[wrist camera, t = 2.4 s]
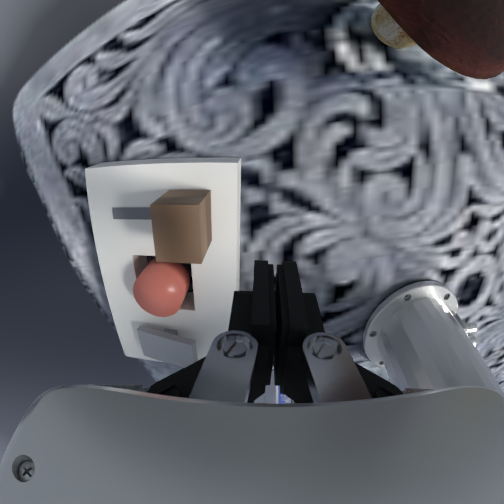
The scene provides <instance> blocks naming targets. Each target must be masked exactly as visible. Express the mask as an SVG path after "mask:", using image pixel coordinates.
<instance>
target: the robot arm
mask: <svg viewBox="0 0 504 504" xmlns="http://www.w3.org/2000/svg"><path fill="white" fill-rule="evenodd" d="M476 330H477V325H476V323H475V322H471V323H466V324H464V323H463V322H462V320H461V319H460V317H459V316H458V302H457V299H456V297H455V295H454V294H453V292H452V291H451V290H450V289H449V288H448V287H447V286H445V285H444V284H442V283H440V282H436V281H421V282H416V283H413V284H410V285H407V286H405V287H403V288H401V289H399V290H398V291H396V292H394V293H393V294H392V295H390V296H389V297H388V298H386V299H385V300H384V301H383V302H382V303H381V304H380V305H379V306H378V307H377V308H376V310H375V311H374V312H373V313H372V315H371V317H370V318H369V320H368V322H367V324H366V326H365V329H364V333H363V347H364V350H365V353H366V355H367V357H368V358H369V360H370V361H371V362H372V363H373V364H375V365H377V366H379V367H383V368H386V370H387V373H388V376H389V378H390V381H391V383H390V382H388V381H386V380H385V379H383V378H381V377H379V376H378V375H376V374H374V373H372V372H370V371H369V370H367V369H365V368H363V367H362V366H360V365H358V364H356V363H355V362H354V360H353V358H352V357H351V355H350V353H349V351H348V349H347V347H346V345H345V343H344V342H343V341H342V339H340V338H339V337H338V336H335V335H333V334H330V333H325V331H324V327H323V323H322V319H321V315H320V311H319V307H318V303H317V299H316V295H315V294H314V293H302V288H301V283H300V278H299V273H298V269H297V264H296V262H288V261H283V262H282V265H277V271H276V284H275V286H274V270H273V264H268V261H261V260H255V264H254V283H253V291H234V295H233V301H232V308H231V315H230V321H229V328H228V331H226V332H223V333H221V334H219V335H218V336H217V337H215V339H214V340H213V342H212V344H211V346H210V349H209V351H208V353H207V356H205V357H204V358H202V359H200V360H198V361H196V362H194V363H193V364H191V365H189V366H187V367H185V368H183V369H181V370H179V371H177V372H176V373H174V374H172V375H170V376H168V377H166V378H164V379H162V380H160V381H158V382H156V383H155V384H153V385H152V386H151V387H150V388H143V385H67V386H61V387H56V388H52V389H50V390H47V391H45V392H44V393H43V394H42V395H40V396H39V397H38V398H37V399H36V400H35V401H34V403H33V404H32V405H31V407H30V408H29V409H28V411H27V412H26V414H25V415H24V417H23V419H22V420H21V422H20V424H19V426H18V427H17V429H16V431H15V433H14V435H13V437H12V439H11V441H10V443H9V445H8V447H7V449H6V452H5V454H4V456H3V459H2V461H1V464H0V504H504V393H503V391H502V389H501V387H500V386H499V384H498V382H497V380H496V379H495V377H494V375H493V374H492V372H491V370H490V369H489V367H488V366H487V364H486V362H485V361H484V359H483V358H482V356H481V355H480V353H479V352H478V350H477V349H476V347H475V346H476V338H475V336H473V335H470V336H468V335H467V334H471V333H475V332H476ZM273 356H274V385H275V386H280V394H285V395H286V396H288V397H289V398H290V399H291V404H272V403H254V402H255V400H256V399H257V398H259V397H260V396H261V395H263V394H264V393H265V387H266V385H270V382H271V374H272V365H273Z"/></svg>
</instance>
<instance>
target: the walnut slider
mask: <svg viewBox="0 0 504 504" xmlns="http://www.w3.org/2000/svg"><path fill="white" fill-rule="evenodd" d="M150 210H151V221H152V231H153V240H154V248H155V256H156V262H173V263H191V264H202V262H203V259H204V257H205V255H206V253H207V250H208V248H209V246H210V243H211V241H212V224H211V190H168V191H167V192H166V193H164V194H163V195H162V196H161V197H159V198H158V199H157V200H155V201H154V202H153V203H152V204H150Z"/></svg>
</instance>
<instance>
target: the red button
mask: <svg viewBox="0 0 504 504" xmlns="http://www.w3.org/2000/svg"><path fill="white" fill-rule="evenodd" d="M189 286H190V277H189V274H188V271H187V270H186V268H185V267H184V266H183V265H182V264H181V263H173V262H156V258H154V259H152V260H151V261H150V262H149V263H148V264H147V266H146V267H145V268H144V270H143V271H142V272H141V274H140V275H139V276H138V278H137V279H136V281H135V282H134V285H133V294H134V297H135V300H136V302H137V303H138V304H139V306H140V307H141V308H142V309H143V310H145V311H146V312H148V313H150V314H152V315H154V316H158V317H168V316H172V315H174V314H175V313H177V312H178V310H179V309H180V307H181V305H182V302H183V300H184V298H185V295H186V293H187V291H188V288H189Z"/></svg>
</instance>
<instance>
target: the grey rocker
mask: <svg viewBox="0 0 504 504" xmlns="http://www.w3.org/2000/svg"><path fill="white" fill-rule="evenodd" d="M137 333H138V337H139V340H140V344H141V348H142V351H143V354H144V356H147V357H150V358H153V359H156V360H159V361H162V362H165V363H168V364H172V365H175V366H178V367H181V368H185V367H187V366H189V365H191V364H193V363H194V362H196V361H198V357H197V350H196V342H195V340H193V339H189V338H185V337H182V336H178V335H174V334H171V333H167V332H163V331H160V330H156V329H153V328H150V327H146V326H143V325H140V326H139V327H138V328H137Z"/></svg>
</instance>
